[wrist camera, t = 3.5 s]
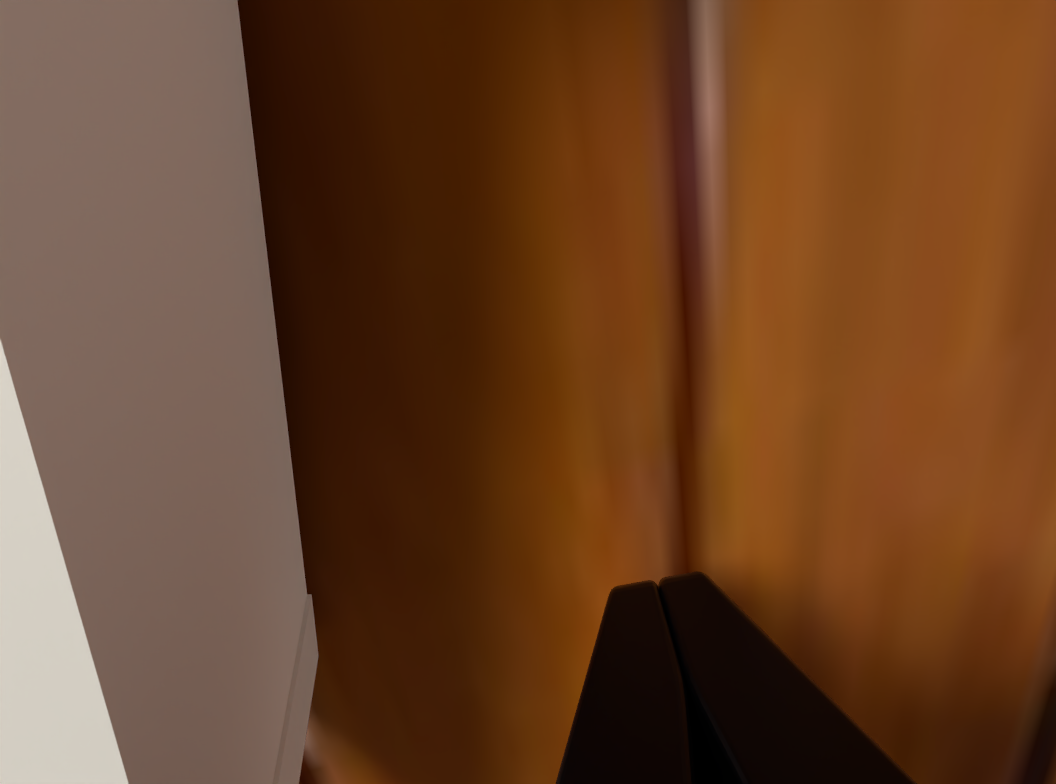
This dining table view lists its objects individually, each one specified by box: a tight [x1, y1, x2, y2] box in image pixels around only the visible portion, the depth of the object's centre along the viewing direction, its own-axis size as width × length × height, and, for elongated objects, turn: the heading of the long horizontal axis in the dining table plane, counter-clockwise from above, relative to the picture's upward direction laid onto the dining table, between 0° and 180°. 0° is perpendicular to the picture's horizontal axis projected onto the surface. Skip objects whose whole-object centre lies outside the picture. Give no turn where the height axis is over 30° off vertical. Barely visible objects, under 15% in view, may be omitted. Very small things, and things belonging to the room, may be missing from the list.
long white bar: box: [0, 0, 319, 784], centre depth 6 cm, size 12×1×5 cm, turn 178°
